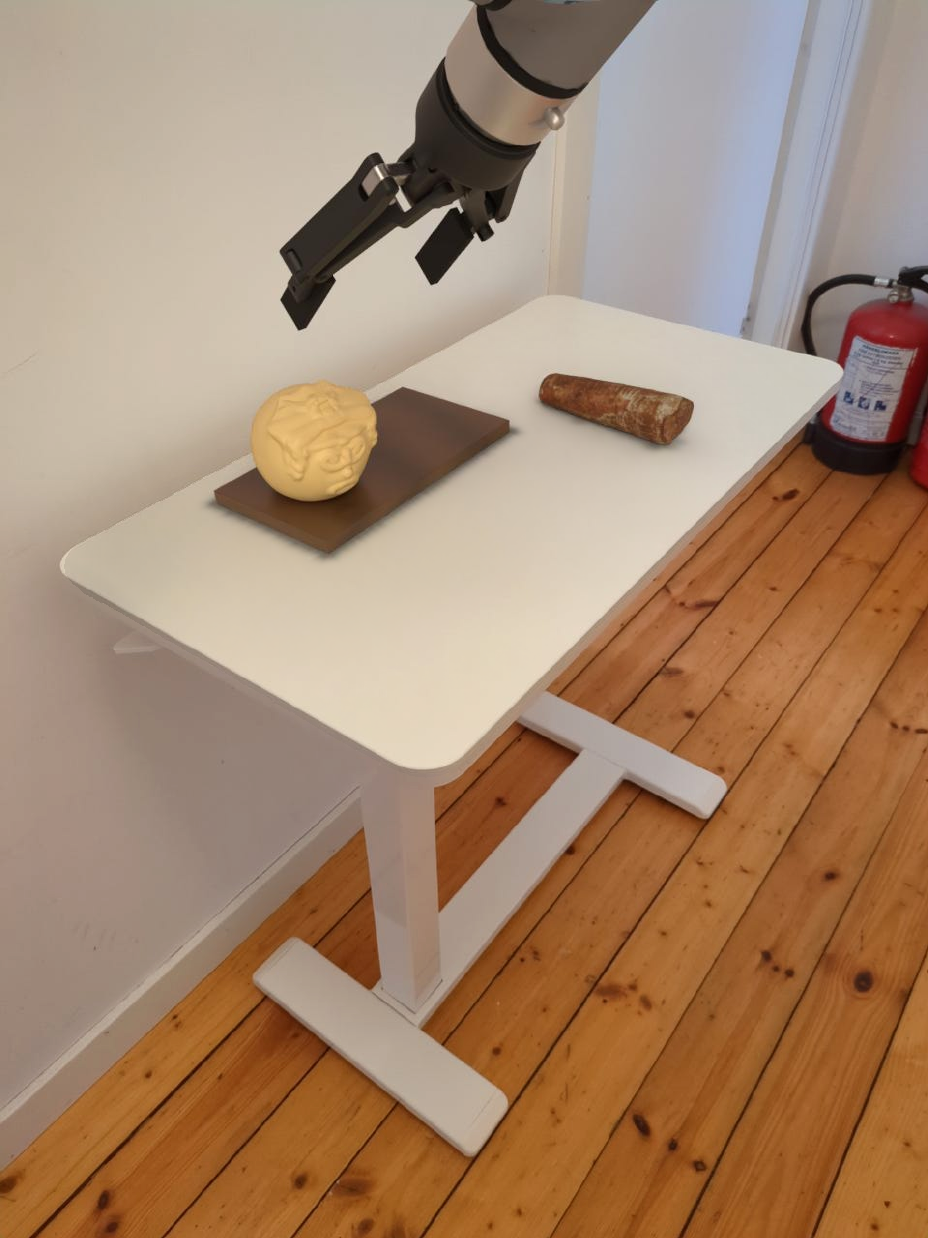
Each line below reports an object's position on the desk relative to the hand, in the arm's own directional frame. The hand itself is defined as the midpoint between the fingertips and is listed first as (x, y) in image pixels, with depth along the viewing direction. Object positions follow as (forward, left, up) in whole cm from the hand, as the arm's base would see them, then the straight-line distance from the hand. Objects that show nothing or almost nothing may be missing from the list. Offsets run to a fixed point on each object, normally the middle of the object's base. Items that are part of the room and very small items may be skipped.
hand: (362, 291), depth 72 cm
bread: (+29, +16, -24) cm, 41 cm away
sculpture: (-5, +9, -22) cm, 25 cm away
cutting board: (+1, +14, -24) cm, 28 cm away
